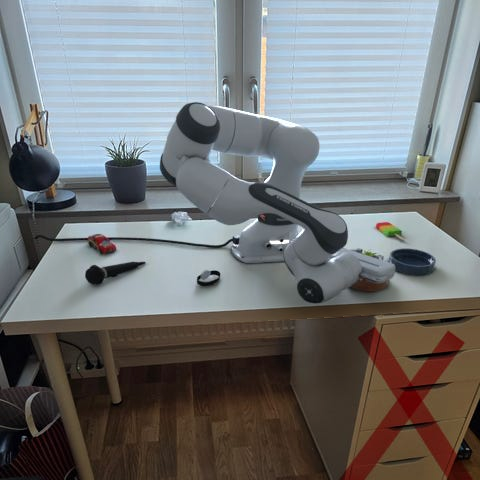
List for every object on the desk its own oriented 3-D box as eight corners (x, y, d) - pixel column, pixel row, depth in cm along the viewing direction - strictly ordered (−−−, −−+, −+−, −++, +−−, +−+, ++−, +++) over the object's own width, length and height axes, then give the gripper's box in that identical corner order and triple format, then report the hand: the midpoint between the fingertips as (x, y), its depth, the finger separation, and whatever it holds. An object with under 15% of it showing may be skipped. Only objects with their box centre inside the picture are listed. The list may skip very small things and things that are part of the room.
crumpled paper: (192, 214, 163) (174, 215, 161) (191, 225, 165) (174, 226, 163) (186, 207, 169) (169, 208, 167) (186, 218, 171) (169, 219, 169)
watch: (214, 275, 130) (214, 264, 128) (224, 281, 127) (224, 270, 125) (193, 283, 126) (192, 272, 124) (203, 289, 123) (202, 278, 121)
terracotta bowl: (356, 294, 121) (358, 285, 119) (332, 274, 132) (334, 265, 130) (397, 287, 125) (399, 278, 123) (371, 268, 135) (372, 259, 134)
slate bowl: (405, 278, 130) (408, 269, 128) (379, 260, 140) (381, 251, 138) (442, 272, 133) (445, 263, 132) (414, 254, 144) (416, 246, 142)
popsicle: (387, 226, 165) (388, 221, 164) (410, 241, 153) (411, 236, 152) (374, 227, 164) (375, 222, 163) (396, 243, 152) (397, 238, 151)
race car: (119, 253, 143) (117, 241, 141) (103, 257, 140) (101, 245, 138) (101, 240, 152) (100, 229, 150) (86, 244, 149) (84, 233, 147)
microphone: (141, 271, 138) (84, 287, 125) (137, 253, 137) (79, 267, 123) (152, 271, 135) (94, 287, 121) (148, 252, 133) (89, 266, 119)
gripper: (382, 271, 108) (407, 254, 117) (313, 248, 120) (340, 234, 128) (378, 294, 112) (402, 275, 120) (311, 269, 123) (338, 254, 132)
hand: (370, 254), depth 124 cm, fingers closed on strawberry, 5 cm apart
